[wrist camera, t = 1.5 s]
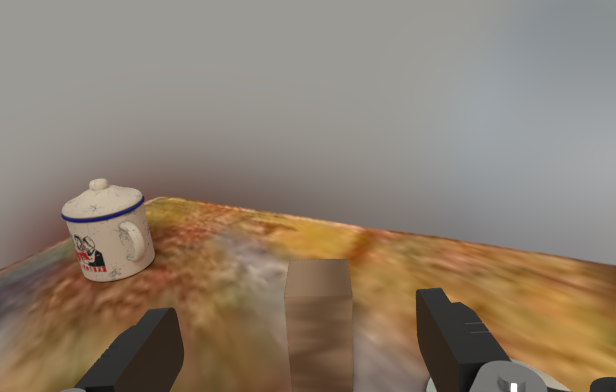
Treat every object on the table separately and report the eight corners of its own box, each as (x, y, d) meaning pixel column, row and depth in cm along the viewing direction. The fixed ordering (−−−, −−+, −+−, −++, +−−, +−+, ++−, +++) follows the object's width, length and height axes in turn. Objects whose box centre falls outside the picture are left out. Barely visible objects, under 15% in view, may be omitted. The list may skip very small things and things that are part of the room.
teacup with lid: (69, 269, 48) (41, 185, 44) (136, 240, 54) (117, 165, 50) (112, 303, 41) (83, 206, 36) (183, 265, 47) (166, 180, 43)
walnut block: (293, 405, 28) (284, 296, 24) (296, 358, 32) (289, 260, 28) (352, 404, 28) (352, 295, 24) (348, 358, 32) (347, 258, 28)
